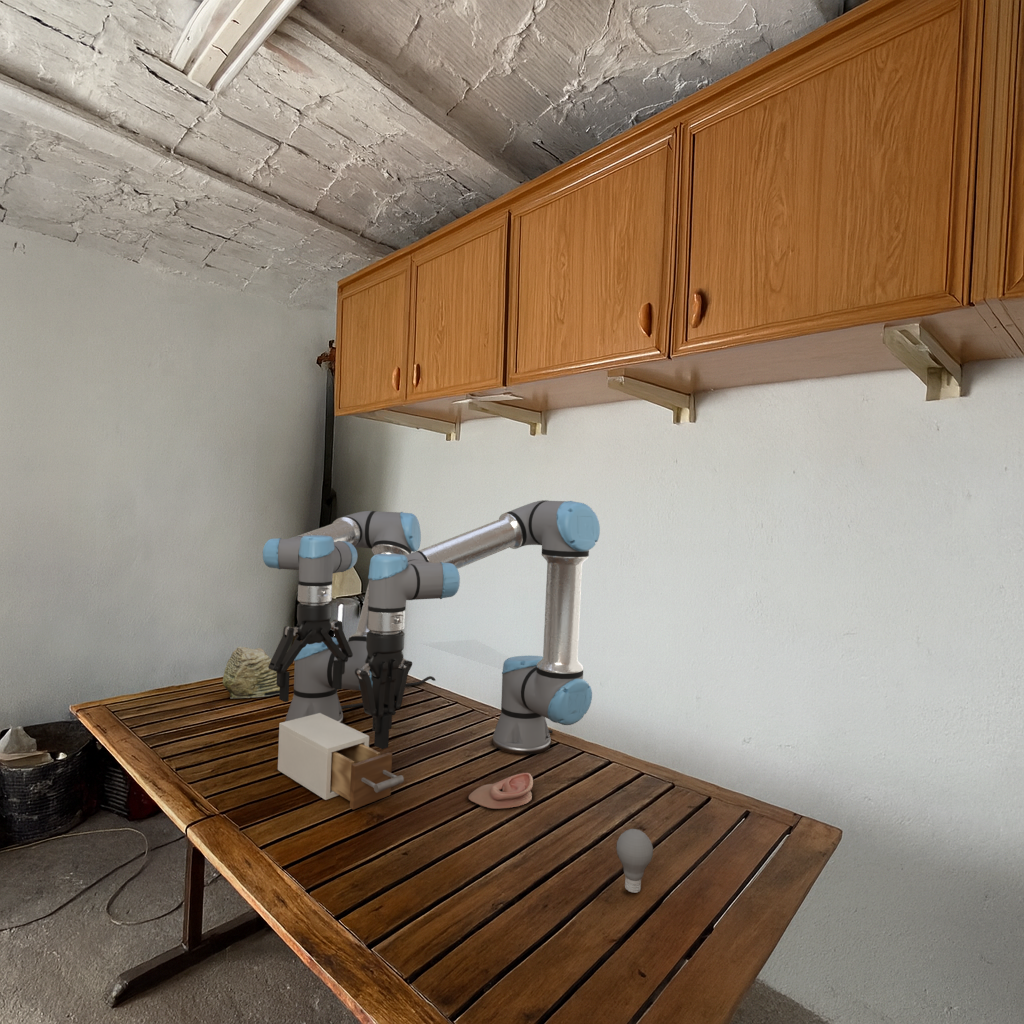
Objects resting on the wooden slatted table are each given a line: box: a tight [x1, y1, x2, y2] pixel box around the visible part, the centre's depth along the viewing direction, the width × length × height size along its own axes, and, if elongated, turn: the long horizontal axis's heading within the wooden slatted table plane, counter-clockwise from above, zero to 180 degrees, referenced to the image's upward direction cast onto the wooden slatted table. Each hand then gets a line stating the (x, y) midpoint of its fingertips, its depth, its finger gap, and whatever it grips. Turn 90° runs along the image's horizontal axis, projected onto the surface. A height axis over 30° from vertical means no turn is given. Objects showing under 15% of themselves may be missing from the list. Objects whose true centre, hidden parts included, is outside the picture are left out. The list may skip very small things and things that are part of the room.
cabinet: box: [277, 713, 370, 801], centre depth 143 cm, size 20×10×11 cm, turn 48°
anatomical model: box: [468, 772, 534, 810], centre depth 137 cm, size 13×4×12 cm
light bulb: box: [615, 828, 654, 894], centre depth 106 cm, size 6×6×10 cm
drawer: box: [330, 744, 405, 810], centre depth 134 cm, size 25×9×9 cm, turn 48°
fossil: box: [222, 646, 280, 699], centre depth 198 cm, size 9×18×15 cm, turn 132°
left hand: (311, 694), depth 146 cm, fingers open, 13 cm apart
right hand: (381, 746), depth 129 cm, fingers closed
